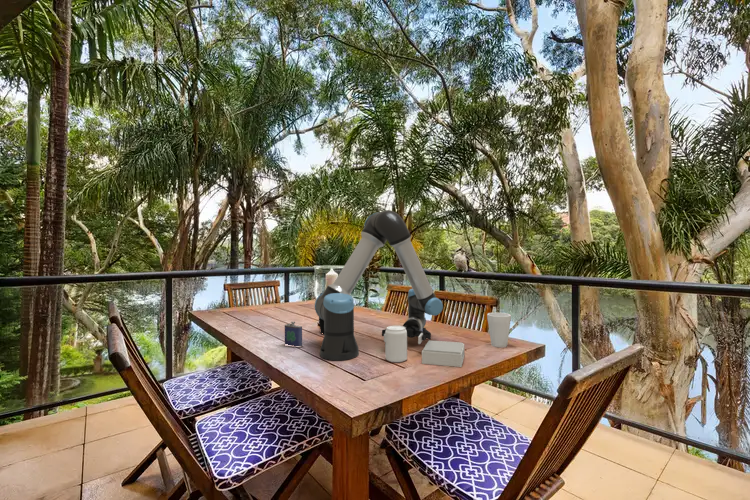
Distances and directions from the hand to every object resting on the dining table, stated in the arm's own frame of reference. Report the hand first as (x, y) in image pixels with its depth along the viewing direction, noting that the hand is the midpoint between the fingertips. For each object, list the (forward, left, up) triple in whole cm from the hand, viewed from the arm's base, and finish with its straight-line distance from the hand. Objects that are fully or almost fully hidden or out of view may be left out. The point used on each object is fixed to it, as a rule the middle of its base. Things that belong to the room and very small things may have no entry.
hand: (401, 339), depth 143 cm
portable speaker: (-43, +26, -7) cm, 51 cm away
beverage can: (-1, -5, -7) cm, 8 cm away
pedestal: (+16, 0, -6) cm, 17 cm away
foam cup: (+36, +25, -7) cm, 44 cm away
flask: (-48, +1, -7) cm, 48 cm away
